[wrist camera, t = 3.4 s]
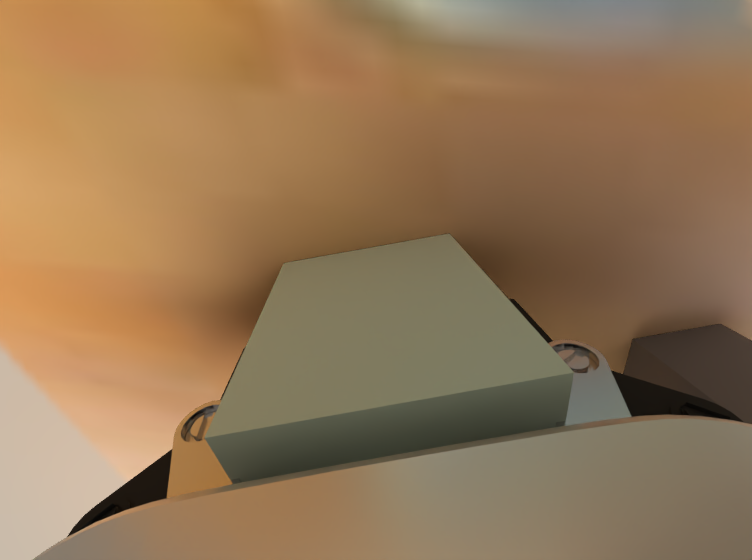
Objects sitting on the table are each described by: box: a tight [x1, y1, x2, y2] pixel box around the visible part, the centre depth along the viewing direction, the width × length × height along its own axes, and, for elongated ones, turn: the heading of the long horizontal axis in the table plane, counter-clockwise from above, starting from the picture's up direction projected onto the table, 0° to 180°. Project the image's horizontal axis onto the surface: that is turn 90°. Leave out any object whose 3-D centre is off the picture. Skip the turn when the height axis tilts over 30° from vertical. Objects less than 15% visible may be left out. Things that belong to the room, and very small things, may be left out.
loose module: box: [205, 233, 574, 482], centre depth 9 cm, size 6×5×7 cm
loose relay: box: [623, 324, 752, 424], centre depth 13 cm, size 4×4×5 cm
